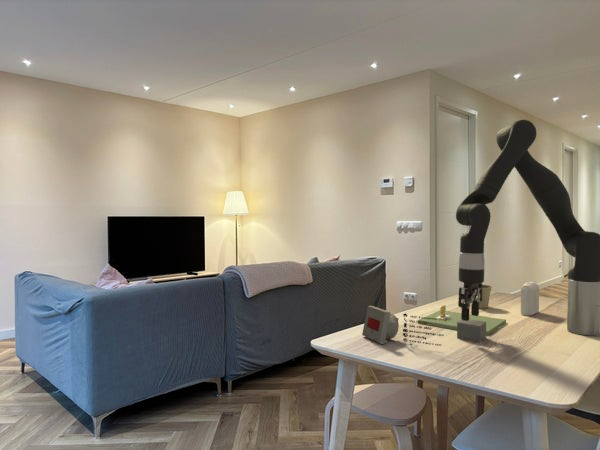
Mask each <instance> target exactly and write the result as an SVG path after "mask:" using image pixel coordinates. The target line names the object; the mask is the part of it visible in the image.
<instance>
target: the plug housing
mask: <svg viewBox="0 0 600 450" xmlns="http://www.w3.org/2000/svg"><path fill="white" fill-rule="evenodd" d="M456 338H457V339H459V340H460V339H461V340H465V341H470V342H477V343H481V342H482V341H484V340H485V339H487V335H486V322H482V321H475V320H468V321H465V320H461V321H459V322H457V330H456Z"/></svg>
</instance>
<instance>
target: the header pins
mask: <svg viewBox="0 0 600 450" xmlns="http://www.w3.org/2000/svg"><path fill="white" fill-rule="evenodd" d="M446 306H447V305H446V304H443V305H440V307H439V308H440V310H439V311H440V317H441V318H443V317H444V316H446V311H447V309H446Z"/></svg>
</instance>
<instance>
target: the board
mask: <svg viewBox="0 0 600 450" xmlns="http://www.w3.org/2000/svg"><path fill="white" fill-rule="evenodd" d="M425 317H426V318H430V319H424V317H420V318H418V319H417V322H418V321H420V322H421V323H419V324H420V325H423V324H422V322H426V323H427V324H424V325H426V326H430V327H431V326H432V327H436V328H442V329H450V330H455V331H457V322H459V321H461V320H462V319H461V312H456V311H450V310H446V316H444V317H443V318H441V317H440V310H437V311H435V312H433V313H430V314H429V315H426V316H425ZM422 318H423V319H422ZM432 318H433V319H432ZM434 318H435V319H434ZM440 318H441V319H442V320H440ZM436 319H437V320H436ZM443 319H444V320H443ZM445 319H446V320H447V321H446V320H445ZM439 320H440V321H439ZM469 320H475V321H482V322H486V336H489V335H491V334H492V333H494V332H495V331H497V330H498V329H499V328H500V327H502V326H504V325H505V324H506V323H507V319H505V318H496V317H491V316H484V315H478V316H473V315H472V314H471V313H469Z"/></svg>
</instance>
